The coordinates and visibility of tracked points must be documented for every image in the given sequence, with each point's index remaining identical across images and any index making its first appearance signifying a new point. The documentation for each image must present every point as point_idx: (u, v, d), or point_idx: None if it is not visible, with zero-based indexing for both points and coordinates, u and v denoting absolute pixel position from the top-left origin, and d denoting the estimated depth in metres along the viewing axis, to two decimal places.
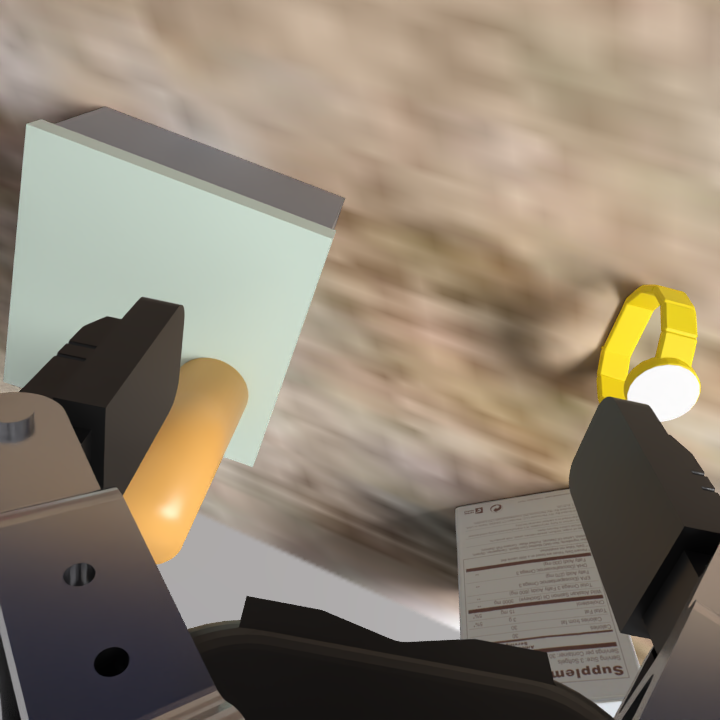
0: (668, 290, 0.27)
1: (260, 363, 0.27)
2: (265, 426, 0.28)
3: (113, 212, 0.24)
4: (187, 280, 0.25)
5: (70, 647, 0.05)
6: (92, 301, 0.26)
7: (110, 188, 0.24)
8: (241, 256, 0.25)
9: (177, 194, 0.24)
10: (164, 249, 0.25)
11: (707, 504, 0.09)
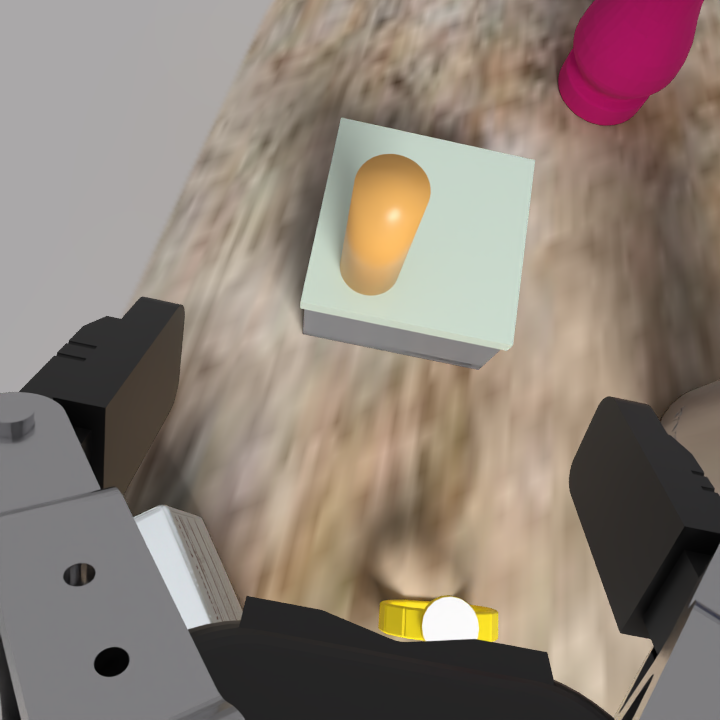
0: None
1: (403, 303, 0.35)
2: (345, 310, 0.34)
3: (493, 205, 0.37)
4: (457, 250, 0.36)
5: (70, 647, 0.05)
6: None
7: (508, 204, 0.37)
8: (484, 286, 0.35)
9: (516, 245, 0.36)
10: (476, 236, 0.36)
11: (707, 504, 0.09)
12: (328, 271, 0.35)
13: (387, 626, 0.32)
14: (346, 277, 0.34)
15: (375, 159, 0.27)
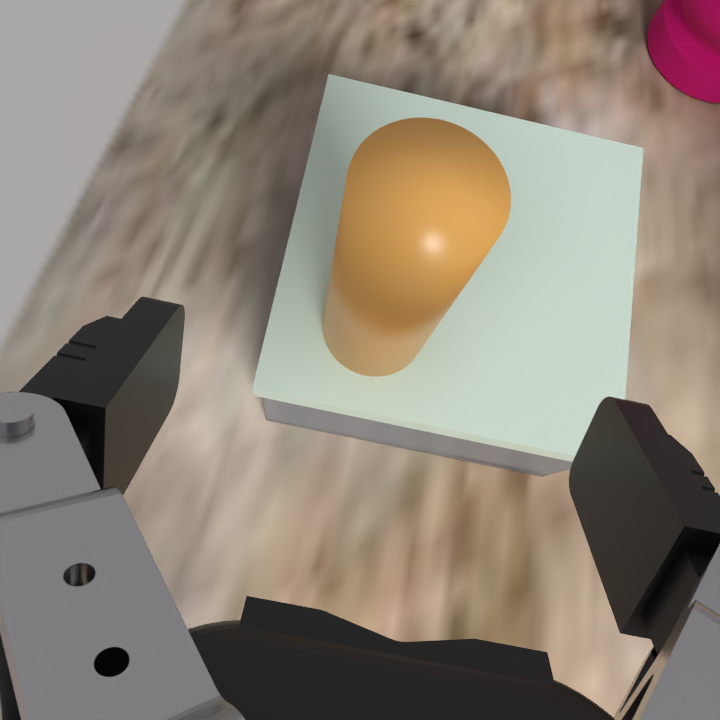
0: None
1: (432, 390, 0.20)
2: (330, 402, 0.20)
3: (579, 221, 0.22)
4: (523, 298, 0.21)
5: (70, 647, 0.05)
6: None
7: (604, 220, 0.22)
8: (569, 359, 0.21)
9: (618, 289, 0.22)
10: (553, 273, 0.22)
11: (707, 504, 0.09)
12: (301, 334, 0.20)
13: None
14: (333, 346, 0.19)
15: (392, 128, 0.13)
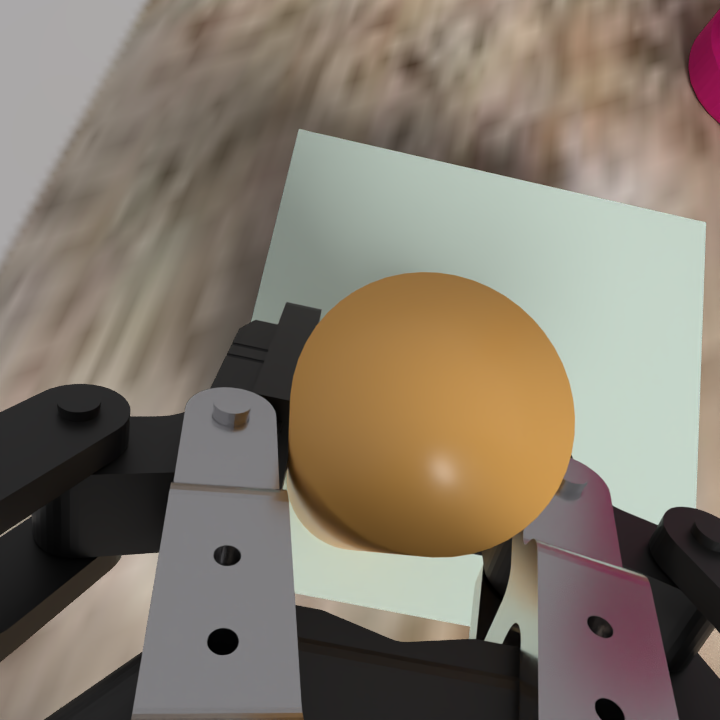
0: None
1: (435, 567, 0.15)
2: (297, 590, 0.14)
3: (627, 323, 0.17)
4: None
5: (195, 614, 0.05)
6: (480, 282, 0.17)
7: (659, 321, 0.17)
8: None
9: (680, 415, 0.16)
10: (594, 396, 0.16)
11: None
12: None
13: None
14: (299, 517, 0.14)
15: (372, 294, 0.08)
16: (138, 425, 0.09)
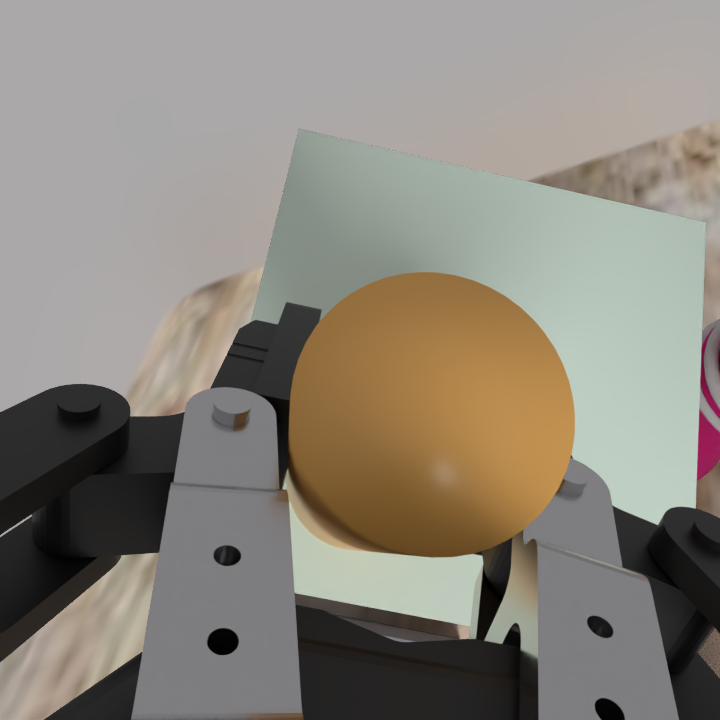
0: None
1: (435, 567, 0.15)
2: (296, 590, 0.14)
3: (627, 323, 0.17)
4: None
5: (195, 615, 0.05)
6: (480, 282, 0.17)
7: (659, 322, 0.17)
8: None
9: (680, 416, 0.16)
10: (594, 396, 0.16)
11: None
12: None
13: None
14: (299, 516, 0.14)
15: (372, 294, 0.08)
16: (137, 426, 0.09)
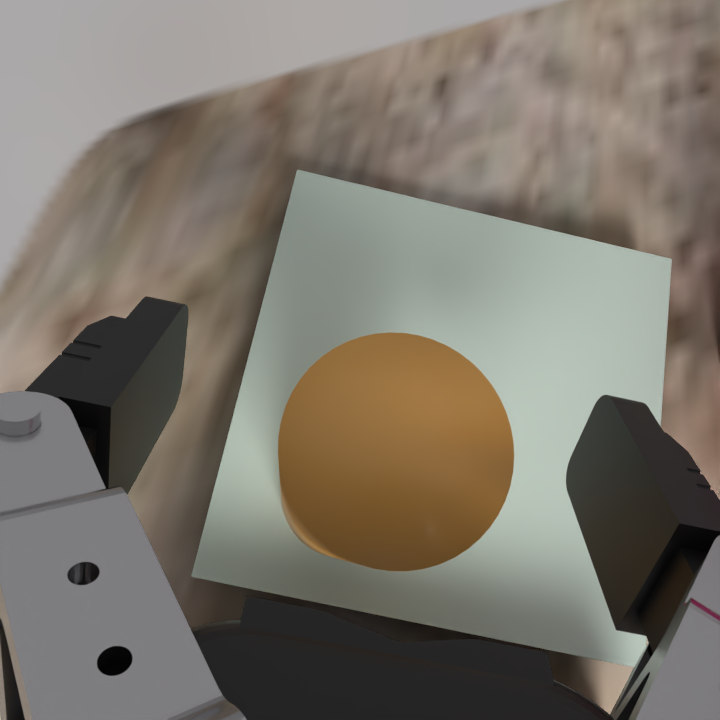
0: None
1: (414, 574, 0.16)
2: (288, 594, 0.16)
3: (596, 353, 0.18)
4: (526, 452, 0.17)
5: (73, 645, 0.05)
6: (461, 313, 0.18)
7: (625, 351, 0.19)
8: None
9: None
10: (563, 420, 0.18)
11: (702, 501, 0.09)
12: (255, 503, 0.16)
13: None
14: (291, 527, 0.16)
15: (348, 351, 0.09)
16: None
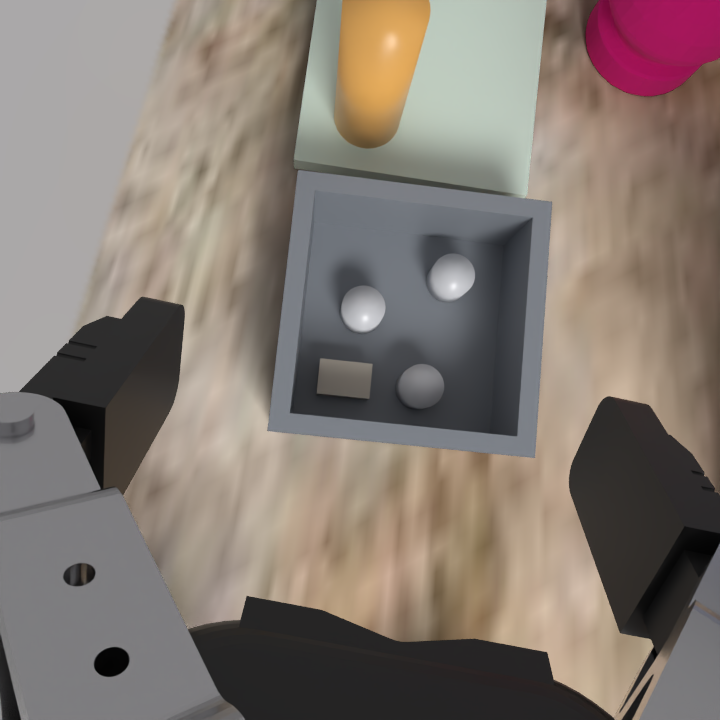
0: None
1: (406, 155, 0.32)
2: (343, 166, 0.31)
3: (502, 37, 0.33)
4: (464, 92, 0.32)
5: (70, 647, 0.05)
6: None
7: (519, 36, 0.33)
8: (494, 131, 0.32)
9: (528, 82, 0.33)
10: (484, 74, 0.32)
11: (707, 504, 0.09)
12: (321, 124, 0.31)
13: None
14: (342, 128, 0.31)
15: None
16: None
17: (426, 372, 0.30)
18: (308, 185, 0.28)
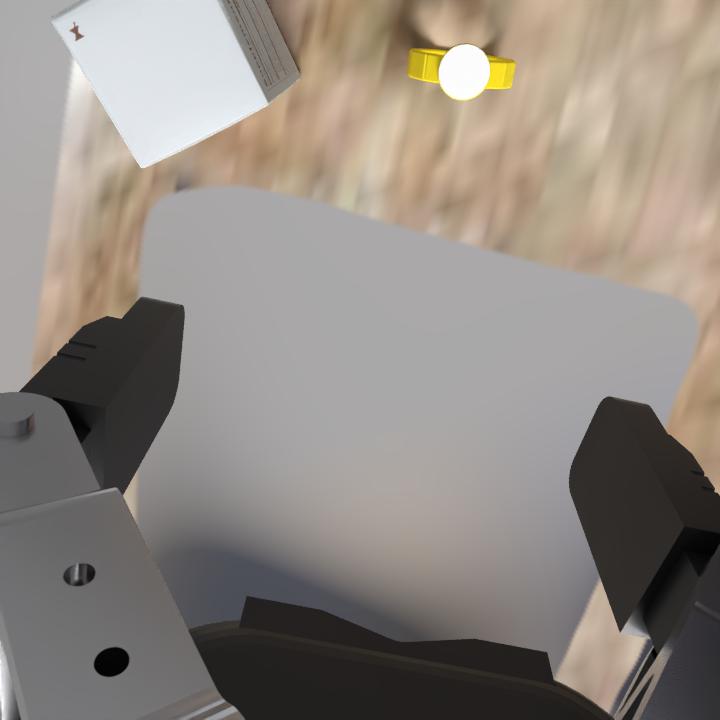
0: None
1: None
2: None
3: None
4: None
5: (70, 647, 0.05)
6: None
7: None
8: None
9: None
10: None
11: (707, 504, 0.09)
12: None
13: (412, 70, 0.37)
14: None
15: None
16: None
17: None
18: None
